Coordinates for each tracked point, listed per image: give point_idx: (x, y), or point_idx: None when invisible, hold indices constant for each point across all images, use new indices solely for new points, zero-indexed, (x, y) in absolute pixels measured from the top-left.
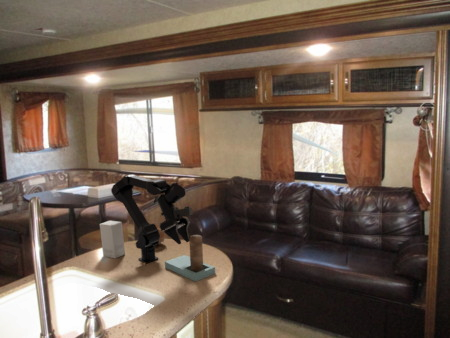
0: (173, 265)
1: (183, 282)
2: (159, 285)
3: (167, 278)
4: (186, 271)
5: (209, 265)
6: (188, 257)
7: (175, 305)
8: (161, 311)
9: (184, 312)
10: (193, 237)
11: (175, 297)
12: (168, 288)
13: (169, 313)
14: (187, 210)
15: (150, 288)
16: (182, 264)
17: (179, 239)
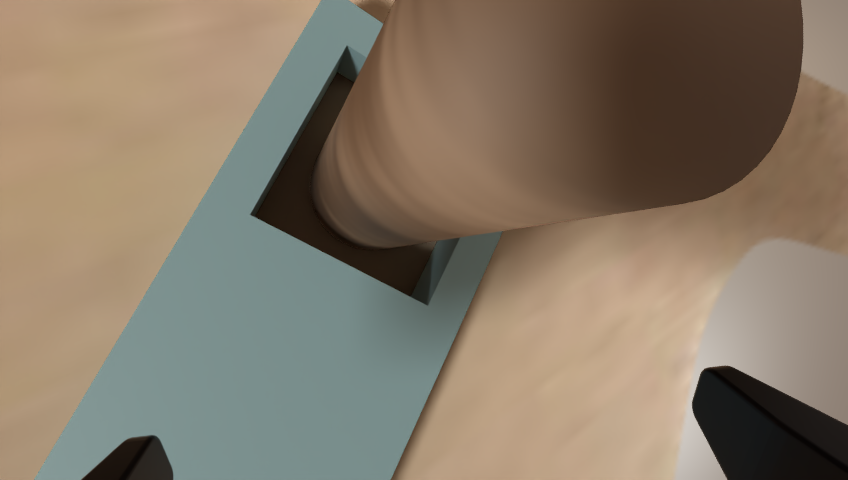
0: (397, 462)
1: (550, 238)
2: (633, 394)
3: (522, 406)
4: (493, 249)
5: (299, 59)
6: (91, 427)
7: (788, 158)
8: (843, 205)
9: (821, 84)
10: (707, 42)
11: (727, 197)
12: (651, 302)
13: (845, 156)
14: None
15: (682, 428)
16: (348, 377)
17: (835, 421)
